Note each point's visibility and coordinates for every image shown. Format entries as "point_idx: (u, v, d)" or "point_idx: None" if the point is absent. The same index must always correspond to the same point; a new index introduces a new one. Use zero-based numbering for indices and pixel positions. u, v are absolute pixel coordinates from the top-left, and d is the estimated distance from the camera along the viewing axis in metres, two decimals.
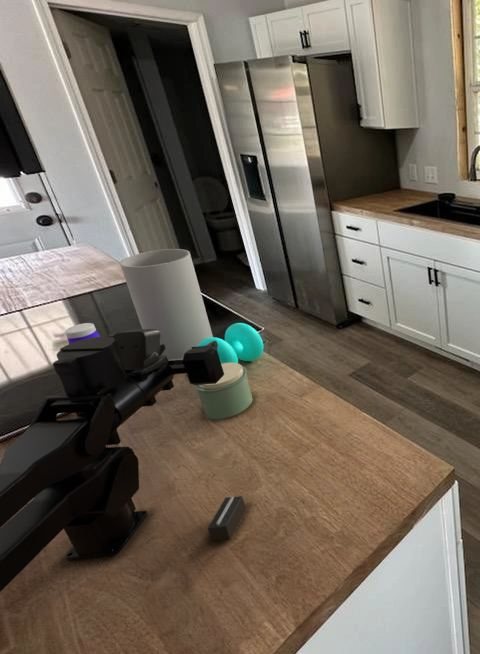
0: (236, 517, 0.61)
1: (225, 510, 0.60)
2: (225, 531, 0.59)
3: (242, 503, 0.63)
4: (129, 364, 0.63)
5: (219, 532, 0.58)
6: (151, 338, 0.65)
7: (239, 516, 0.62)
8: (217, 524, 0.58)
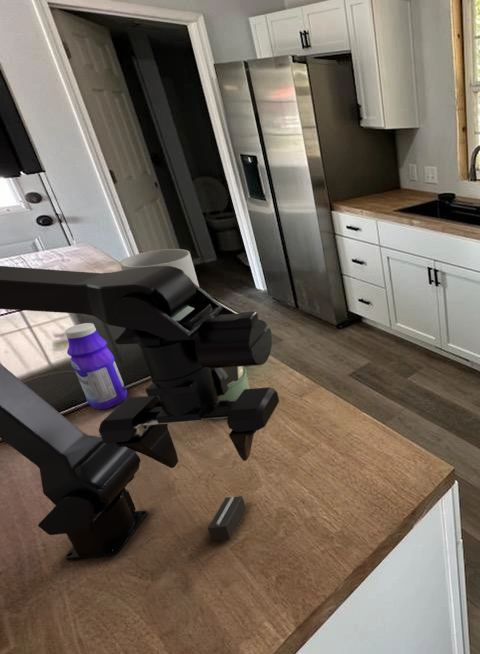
0: (236, 517, 0.61)
1: (225, 510, 0.60)
2: (225, 531, 0.59)
3: (242, 503, 0.63)
4: None
5: (219, 532, 0.58)
6: (235, 368, 0.60)
7: (239, 516, 0.62)
8: (217, 524, 0.58)
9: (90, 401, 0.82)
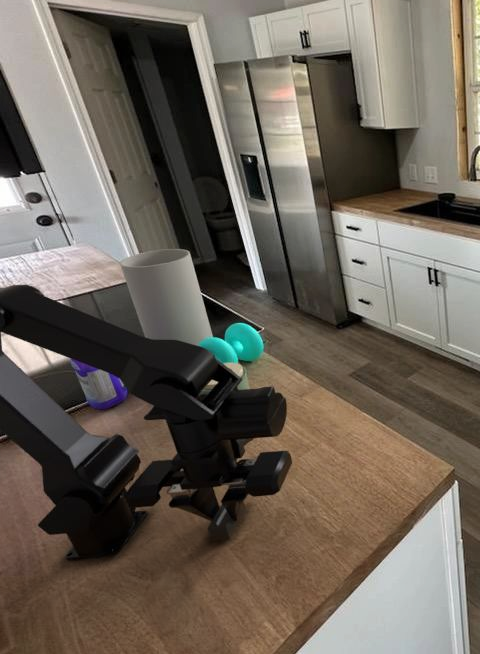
0: None
1: (225, 510, 0.60)
2: (225, 531, 0.59)
3: None
4: None
5: (219, 532, 0.58)
6: None
7: None
8: (217, 524, 0.58)
9: (90, 401, 0.82)
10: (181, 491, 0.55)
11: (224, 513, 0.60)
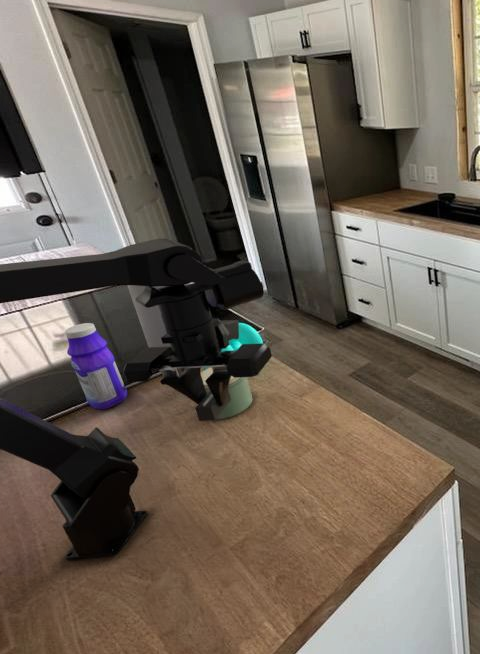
0: None
1: (211, 396, 0.67)
2: (210, 412, 0.65)
3: (227, 394, 0.70)
4: None
5: (205, 412, 0.65)
6: (236, 328, 0.70)
7: (224, 404, 0.69)
8: (203, 405, 0.65)
9: (90, 401, 0.82)
10: (171, 369, 0.62)
11: (210, 398, 0.67)
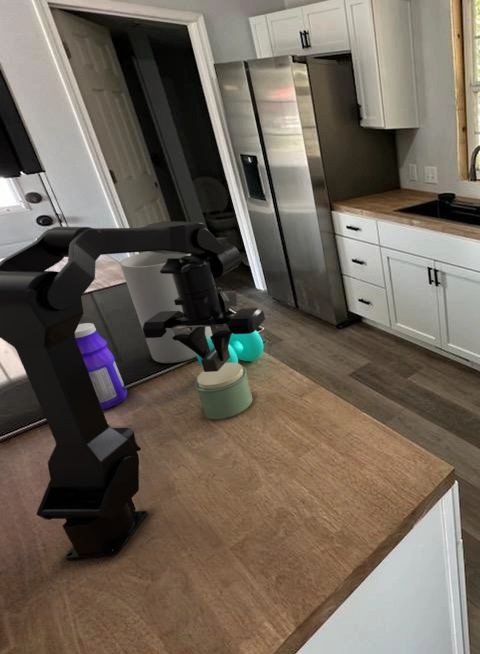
0: None
1: (214, 352, 0.80)
2: (214, 364, 0.79)
3: (227, 351, 0.83)
4: None
5: (209, 365, 0.79)
6: (234, 297, 0.84)
7: (225, 359, 0.82)
8: (208, 358, 0.79)
9: None
10: (181, 328, 0.75)
11: (213, 353, 0.80)
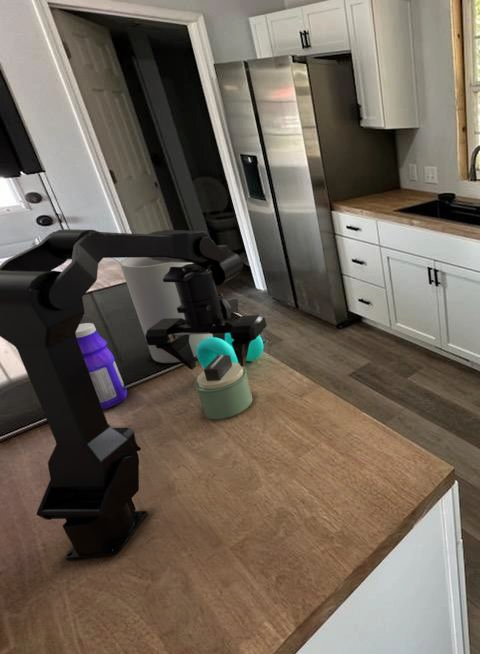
0: (225, 367, 0.82)
1: (216, 361, 0.81)
2: (216, 374, 0.80)
3: (229, 360, 0.84)
4: None
5: (212, 374, 0.80)
6: (236, 303, 0.85)
7: (227, 368, 0.83)
8: (210, 367, 0.79)
9: None
10: None
11: (216, 362, 0.81)
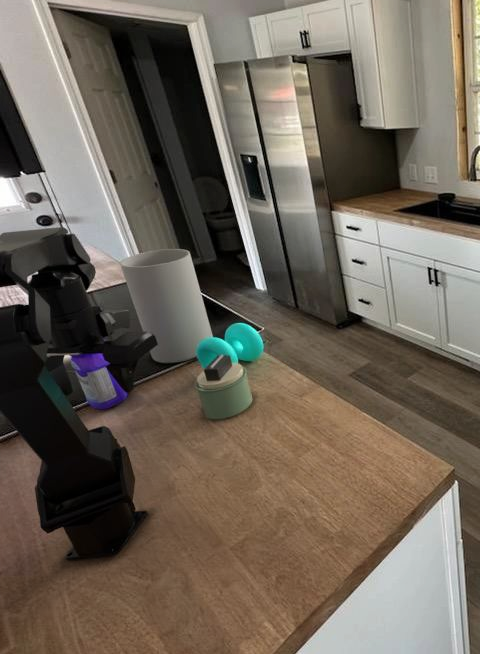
0: (225, 367, 0.82)
1: (216, 361, 0.81)
2: (216, 374, 0.80)
3: (229, 360, 0.84)
4: None
5: (212, 374, 0.80)
6: (126, 317, 0.71)
7: (227, 368, 0.83)
8: (210, 367, 0.79)
9: (90, 401, 0.82)
10: None
11: (216, 362, 0.81)
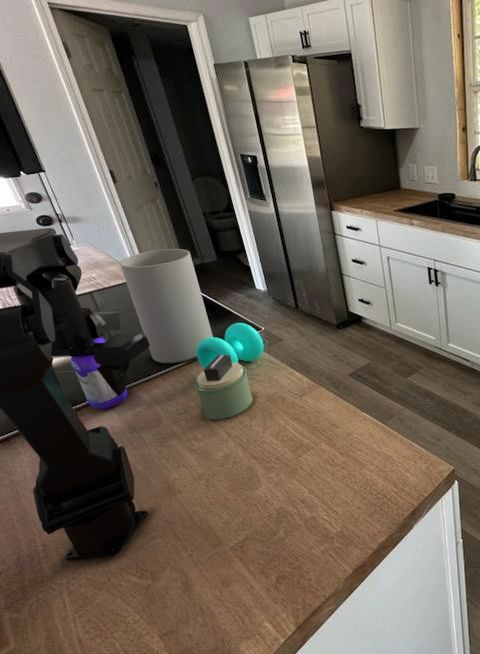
0: (225, 367, 0.82)
1: (216, 361, 0.81)
2: (216, 374, 0.80)
3: (229, 360, 0.84)
4: None
5: (212, 374, 0.80)
6: (116, 318, 0.71)
7: (227, 368, 0.83)
8: (210, 367, 0.79)
9: (90, 401, 0.82)
10: None
11: (216, 362, 0.81)
